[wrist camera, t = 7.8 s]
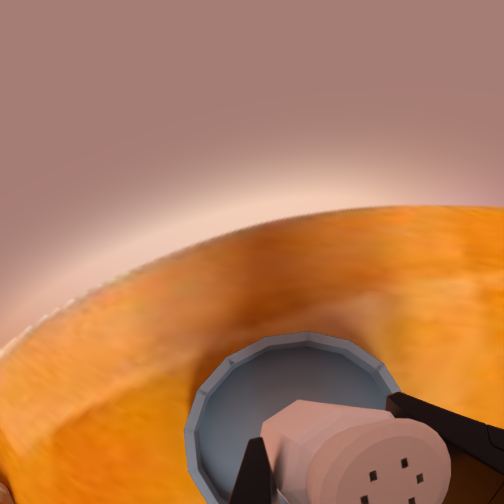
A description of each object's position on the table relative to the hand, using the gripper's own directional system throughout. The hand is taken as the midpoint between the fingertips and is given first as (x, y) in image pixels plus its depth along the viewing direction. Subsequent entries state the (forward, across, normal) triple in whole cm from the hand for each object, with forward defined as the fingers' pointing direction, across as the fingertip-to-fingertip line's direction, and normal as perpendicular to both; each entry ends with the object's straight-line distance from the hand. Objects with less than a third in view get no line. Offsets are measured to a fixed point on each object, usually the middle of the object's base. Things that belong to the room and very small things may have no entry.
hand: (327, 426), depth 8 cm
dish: (+8, 0, +9) cm, 12 cm away
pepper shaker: (+4, 0, +6) cm, 7 cm away
